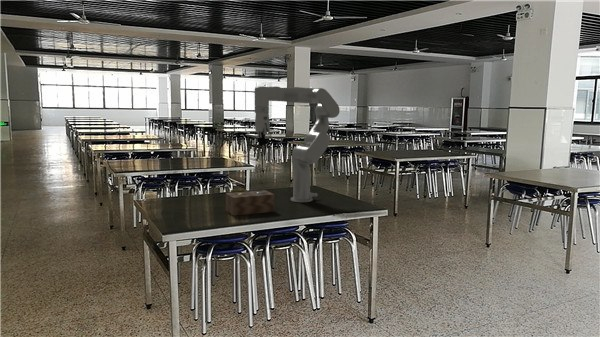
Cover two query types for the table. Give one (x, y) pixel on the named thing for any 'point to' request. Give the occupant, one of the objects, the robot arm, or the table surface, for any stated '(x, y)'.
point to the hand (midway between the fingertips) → (261, 145)
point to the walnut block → (249, 203)
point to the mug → (238, 191)
